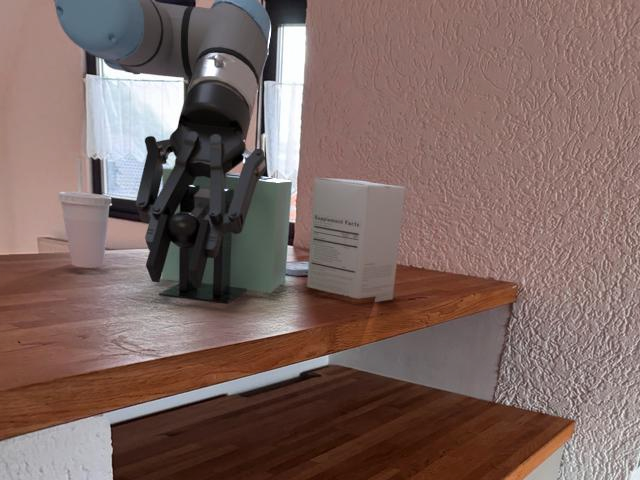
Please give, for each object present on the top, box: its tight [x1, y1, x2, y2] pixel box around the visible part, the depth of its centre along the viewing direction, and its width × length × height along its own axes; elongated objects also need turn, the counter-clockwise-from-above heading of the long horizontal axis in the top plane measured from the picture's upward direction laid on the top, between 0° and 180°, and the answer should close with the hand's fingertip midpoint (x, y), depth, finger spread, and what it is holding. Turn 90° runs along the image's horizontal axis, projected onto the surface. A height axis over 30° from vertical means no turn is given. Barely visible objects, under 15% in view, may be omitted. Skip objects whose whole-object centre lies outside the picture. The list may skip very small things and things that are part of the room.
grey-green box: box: [161, 167, 293, 294], centre depth 95 cm, size 11×14×14 cm
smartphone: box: [286, 260, 309, 276], centre depth 118 cm, size 7×1×15 cm
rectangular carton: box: [306, 177, 406, 303], centre depth 98 cm, size 9×9×15 cm
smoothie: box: [57, 156, 113, 269], centre depth 93 cm, size 6×6×14 cm
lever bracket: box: [158, 184, 248, 305], centre depth 85 cm, size 10×8×13 cm
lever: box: [167, 189, 210, 248], centre depth 80 cm, size 12×4×4 cm, turn 176°
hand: (173, 276), depth 75 cm, fingers closed on lever, 4 cm apart
